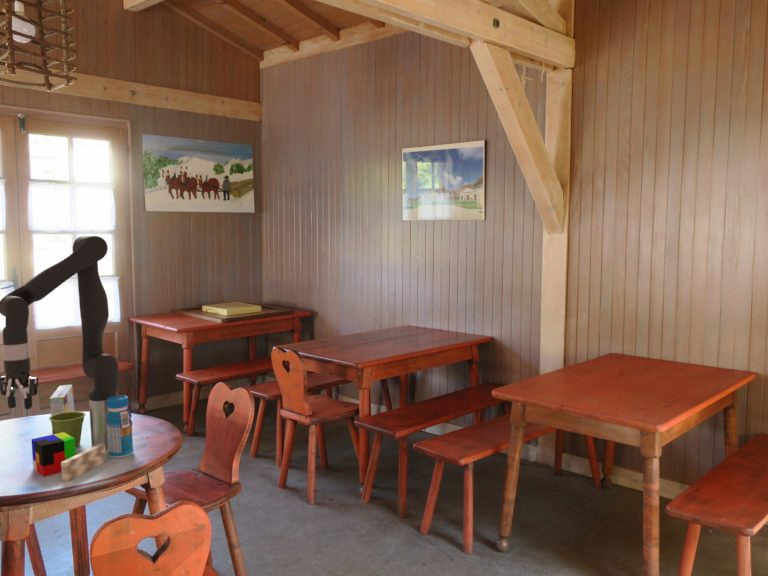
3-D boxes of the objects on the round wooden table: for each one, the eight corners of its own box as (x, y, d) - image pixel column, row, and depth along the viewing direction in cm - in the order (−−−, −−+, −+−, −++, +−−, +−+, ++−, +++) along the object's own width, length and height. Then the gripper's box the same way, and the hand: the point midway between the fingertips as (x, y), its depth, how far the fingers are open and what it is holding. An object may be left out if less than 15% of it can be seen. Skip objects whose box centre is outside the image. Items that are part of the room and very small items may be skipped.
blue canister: (105, 460, 220) (102, 401, 219) (109, 451, 228) (106, 395, 227) (132, 457, 223) (129, 399, 221) (135, 449, 231) (132, 393, 229)
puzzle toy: (33, 469, 213) (31, 439, 212) (65, 461, 220) (63, 432, 219) (43, 476, 206) (41, 445, 205) (76, 468, 213) (74, 438, 212)
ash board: (100, 461, 219) (99, 443, 219) (105, 461, 219) (104, 443, 218) (62, 481, 202) (60, 462, 201) (67, 481, 201) (66, 462, 201)
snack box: (60, 421, 267) (58, 385, 266) (75, 420, 269) (73, 384, 267) (51, 437, 247) (48, 397, 246) (67, 435, 249) (65, 396, 247)
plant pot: (73, 452, 228) (71, 421, 227) (43, 451, 231) (41, 419, 230) (94, 442, 240) (92, 411, 239) (65, 440, 242) (64, 410, 241)
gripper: (44, 355, 215) (47, 406, 216) (7, 354, 218) (10, 404, 220) (26, 360, 207) (29, 412, 209) (-12, 358, 211) (-8, 410, 212)
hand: (20, 408), depth 214 cm, fingers open, 5 cm apart
